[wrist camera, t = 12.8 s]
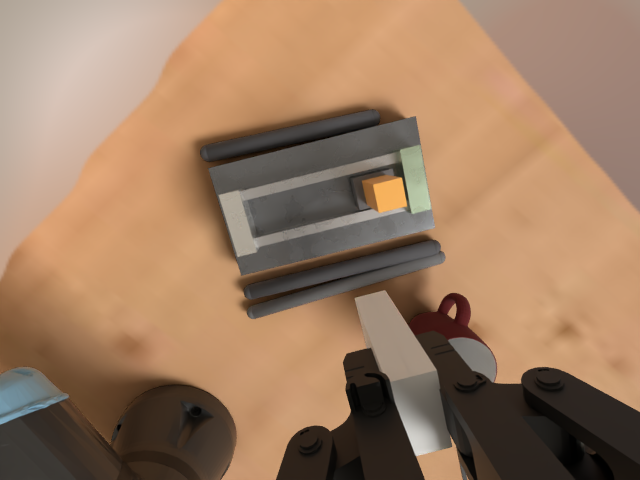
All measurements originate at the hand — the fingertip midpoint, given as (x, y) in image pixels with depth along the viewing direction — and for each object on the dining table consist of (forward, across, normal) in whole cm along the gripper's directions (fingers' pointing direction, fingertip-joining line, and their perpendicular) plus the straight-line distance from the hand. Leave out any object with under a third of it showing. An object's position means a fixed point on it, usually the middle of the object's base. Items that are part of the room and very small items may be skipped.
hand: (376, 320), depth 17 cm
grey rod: (+25, 0, -5) cm, 26 cm away
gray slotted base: (+25, 0, +4) cm, 25 cm away
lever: (+22, +5, +4) cm, 22 cm away
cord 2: (+25, 0, -7) cm, 26 cm away
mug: (+25, +9, -14) cm, 30 cm away
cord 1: (+25, -2, +11) cm, 27 cm away
